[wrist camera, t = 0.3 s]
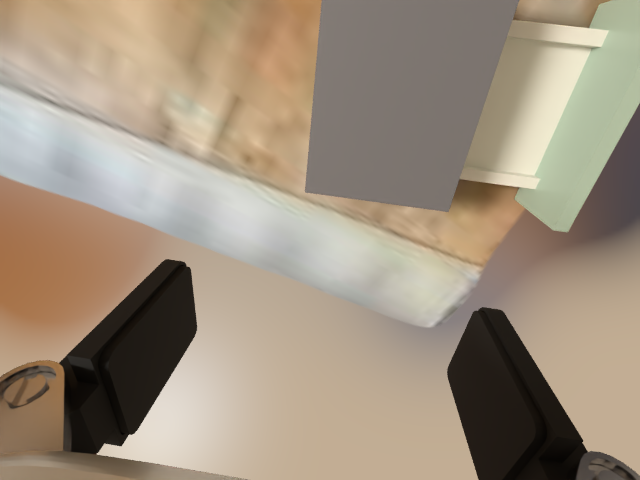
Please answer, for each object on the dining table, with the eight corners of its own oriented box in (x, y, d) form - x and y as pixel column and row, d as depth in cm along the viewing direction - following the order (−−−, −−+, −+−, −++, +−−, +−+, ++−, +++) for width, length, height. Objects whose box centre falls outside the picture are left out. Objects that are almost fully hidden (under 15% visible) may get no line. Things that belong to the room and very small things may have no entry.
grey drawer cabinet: (481, -1, 29) (528, -29, 21) (429, 182, 38) (448, 211, 30) (334, -18, 30) (326, -50, 22) (315, 167, 38) (305, 192, 30)
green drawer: (615, 5, 28) (706, -18, 21) (526, 200, 37) (567, 232, 30) (462, -11, 29) (498, -40, 21) (411, 185, 38) (424, 212, 31)
